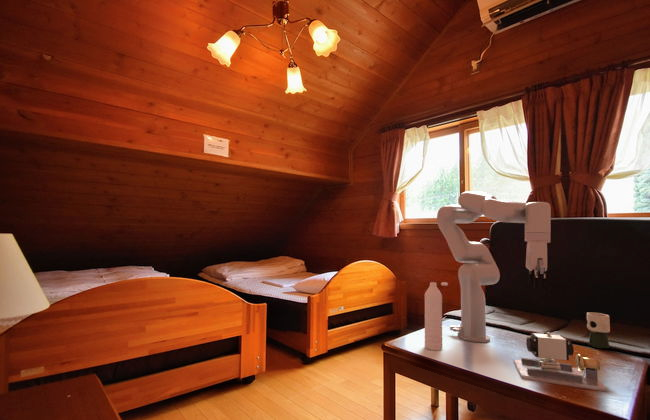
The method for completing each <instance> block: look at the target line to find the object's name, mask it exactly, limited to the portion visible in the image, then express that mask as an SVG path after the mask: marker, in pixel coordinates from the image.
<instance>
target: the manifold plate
mask: <svg viewBox="0 0 650 420" xmlns="http://www.w3.org/2000/svg"><path fill="white" fill-rule="evenodd" d="M574 359H575V360H574V361H575V365H576V367H573V365H572V364H571V363H566V362H565V363H564V362H558V361H556V362H557V363H559V364H560V366H561V370H560V371H558V372H555V371H548V370H543V369H540V366H539V362H540V361H541V359H534V358H528V357H527V358H526V357H521V358H520V359H513V364H514V365H515V368H516V370H517V372H518V374H519V376H520V378H521V380H522V379H523V380H529V381H535V382H536V381H537V382H542V383H549V384H554V385H555V384H556V385H562V386H569V387H575V388H581V389H589V390H595V391H601V392H607V386H605V385H604V384H603V383H602V382H601V381H600V380H599V379H598V371H600V370H601V363H600V360H599V358H592V357H583V355H582V354H581V353H576V354H575V358H574Z"/></svg>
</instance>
